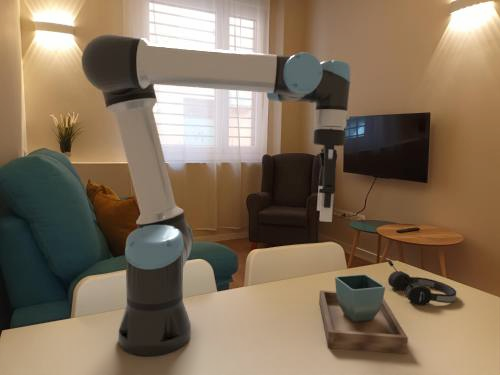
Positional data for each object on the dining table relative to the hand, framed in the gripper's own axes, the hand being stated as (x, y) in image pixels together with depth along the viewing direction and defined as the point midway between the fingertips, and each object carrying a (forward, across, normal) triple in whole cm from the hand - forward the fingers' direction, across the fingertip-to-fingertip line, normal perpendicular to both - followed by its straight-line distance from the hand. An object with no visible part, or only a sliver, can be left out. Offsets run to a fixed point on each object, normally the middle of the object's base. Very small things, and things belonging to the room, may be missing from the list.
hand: (323, 215), depth 92 cm
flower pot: (+24, -4, -9) cm, 26 cm away
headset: (+25, +16, -30) cm, 42 cm away
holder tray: (+25, -6, -9) cm, 27 cm away
